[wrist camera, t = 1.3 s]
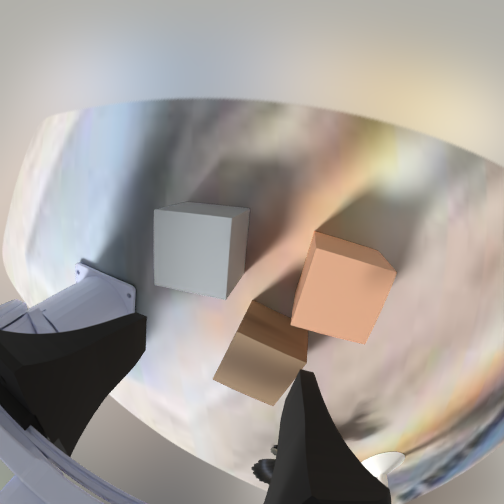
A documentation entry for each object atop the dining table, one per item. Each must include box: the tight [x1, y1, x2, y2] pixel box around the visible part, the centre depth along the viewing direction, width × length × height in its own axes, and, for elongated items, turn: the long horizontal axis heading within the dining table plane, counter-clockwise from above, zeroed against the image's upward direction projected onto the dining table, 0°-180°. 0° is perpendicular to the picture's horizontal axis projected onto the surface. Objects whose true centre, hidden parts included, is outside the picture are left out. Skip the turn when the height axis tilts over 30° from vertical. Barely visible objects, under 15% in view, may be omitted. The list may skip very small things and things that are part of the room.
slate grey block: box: [154, 202, 250, 300], centre depth 19 cm, size 5×5×5 cm
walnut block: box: [213, 300, 308, 406], centre depth 20 cm, size 5×5×5 cm
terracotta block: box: [290, 231, 397, 344], centre depth 18 cm, size 5×5×5 cm
